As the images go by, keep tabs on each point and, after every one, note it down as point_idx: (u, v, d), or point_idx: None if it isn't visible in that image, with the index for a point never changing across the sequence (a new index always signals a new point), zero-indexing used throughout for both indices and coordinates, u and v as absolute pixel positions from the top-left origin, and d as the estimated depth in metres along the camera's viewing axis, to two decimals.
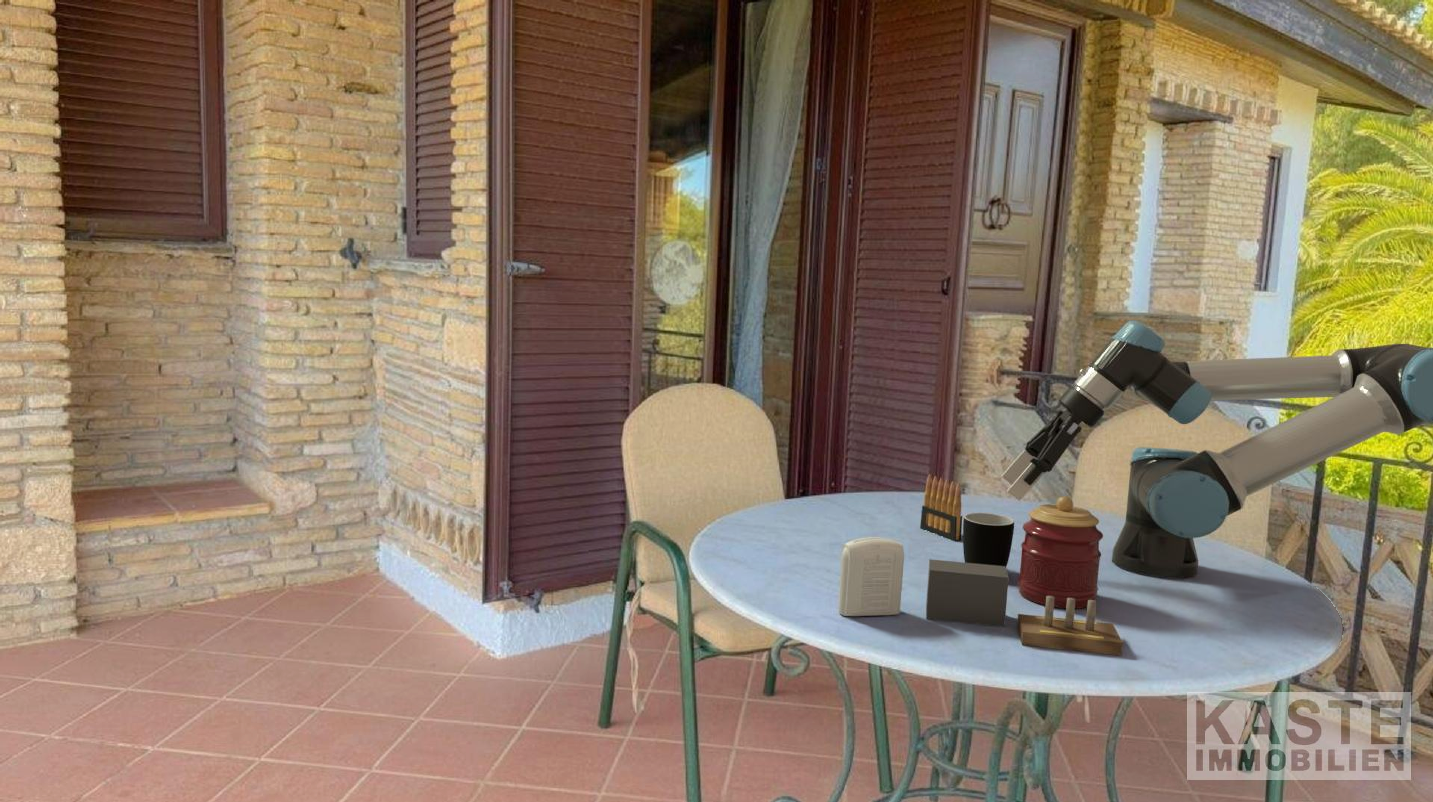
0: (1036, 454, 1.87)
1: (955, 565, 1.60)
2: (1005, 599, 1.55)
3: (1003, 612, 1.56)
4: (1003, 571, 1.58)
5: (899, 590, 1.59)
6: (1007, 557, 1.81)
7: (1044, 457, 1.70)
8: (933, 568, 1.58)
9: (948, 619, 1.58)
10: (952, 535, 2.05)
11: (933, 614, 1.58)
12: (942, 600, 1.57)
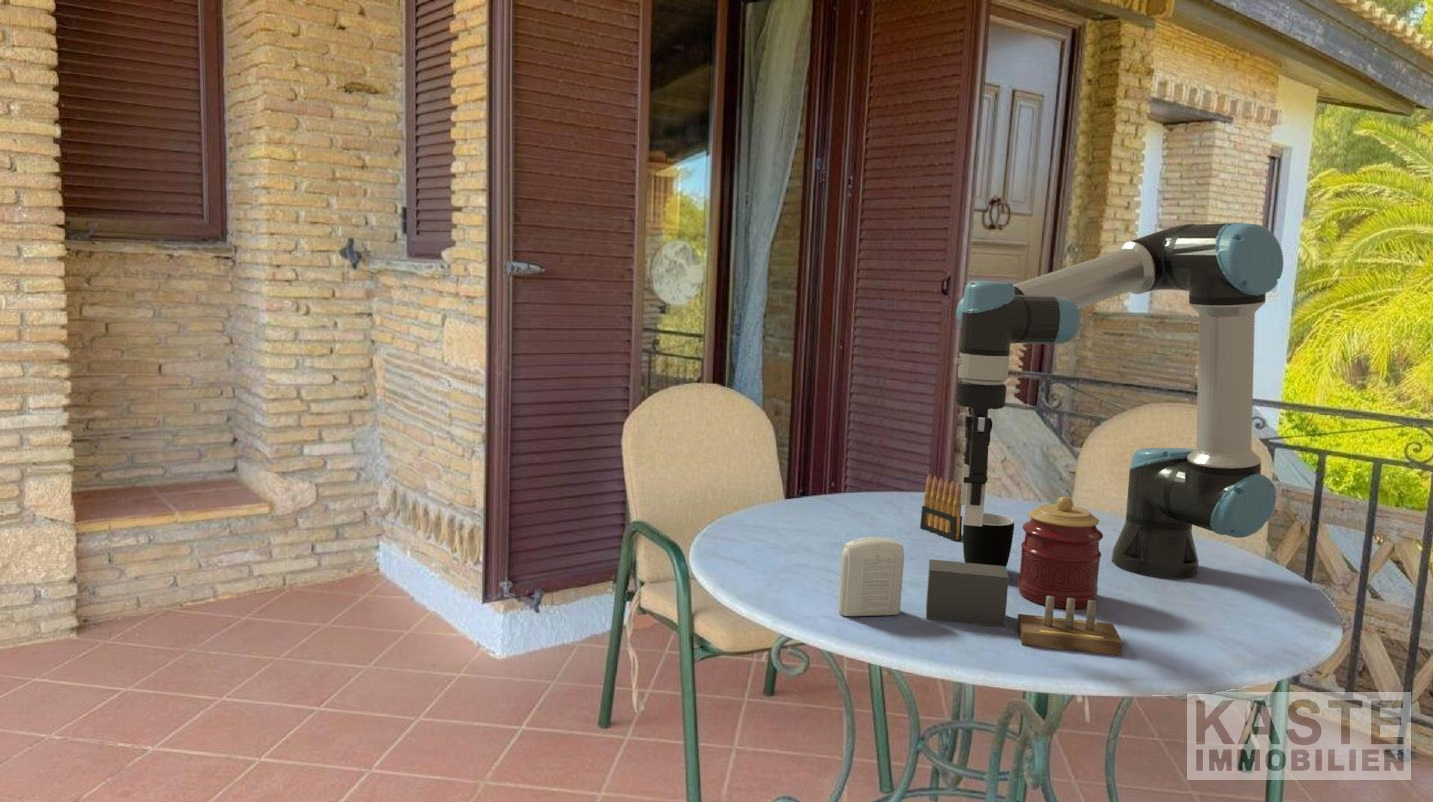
0: None
1: (955, 565, 1.60)
2: (1005, 599, 1.55)
3: (1003, 612, 1.56)
4: (1003, 571, 1.58)
5: (899, 590, 1.59)
6: (1007, 557, 1.81)
7: (972, 471, 1.47)
8: (933, 568, 1.58)
9: (948, 619, 1.58)
10: (952, 535, 2.05)
11: (933, 614, 1.58)
12: (942, 600, 1.57)
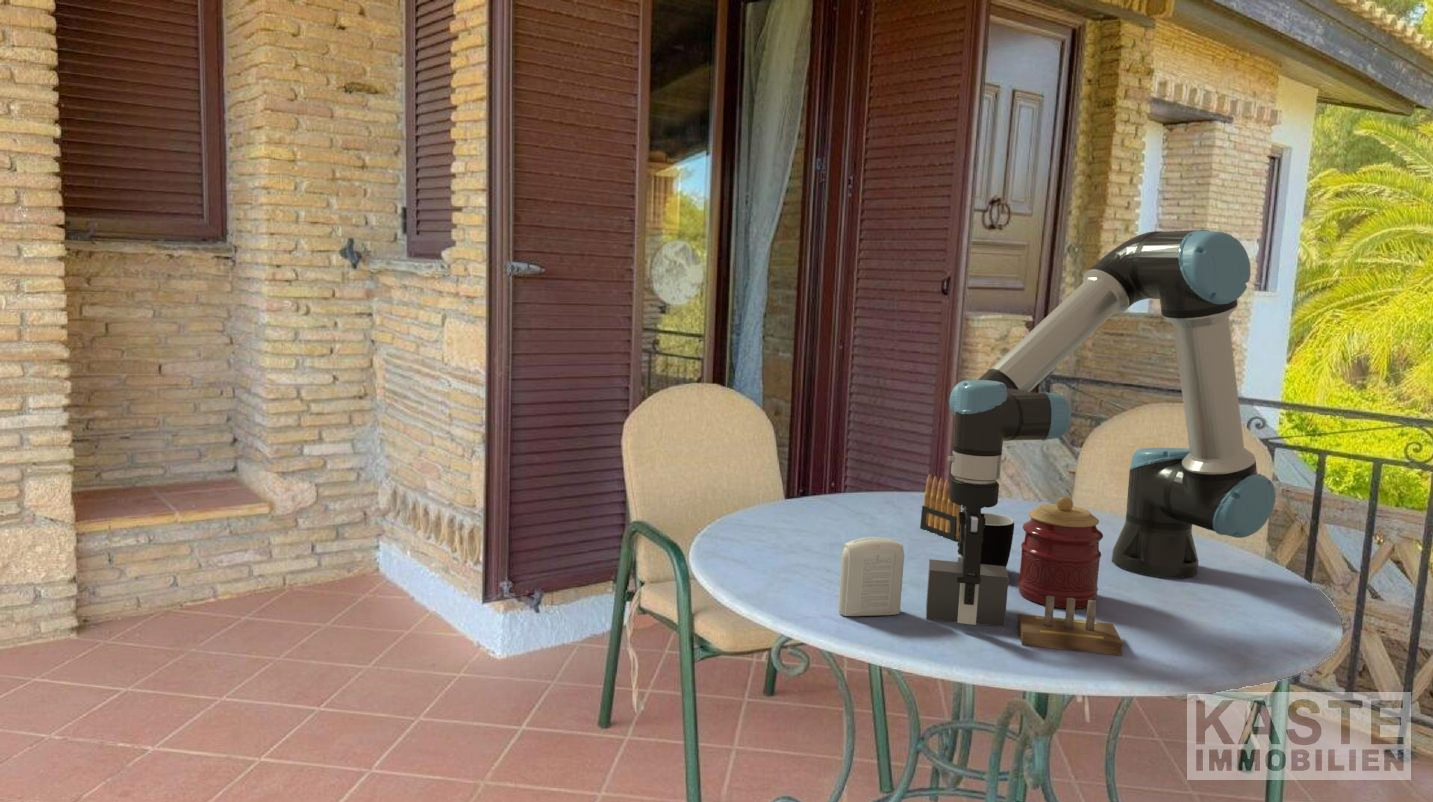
0: None
1: (955, 565, 1.60)
2: (1005, 599, 1.55)
3: (1003, 612, 1.56)
4: (1003, 571, 1.58)
5: (899, 590, 1.59)
6: (1007, 557, 1.81)
7: (965, 572, 1.49)
8: (933, 568, 1.58)
9: (948, 619, 1.58)
10: (952, 535, 2.05)
11: (933, 614, 1.58)
12: (942, 600, 1.57)
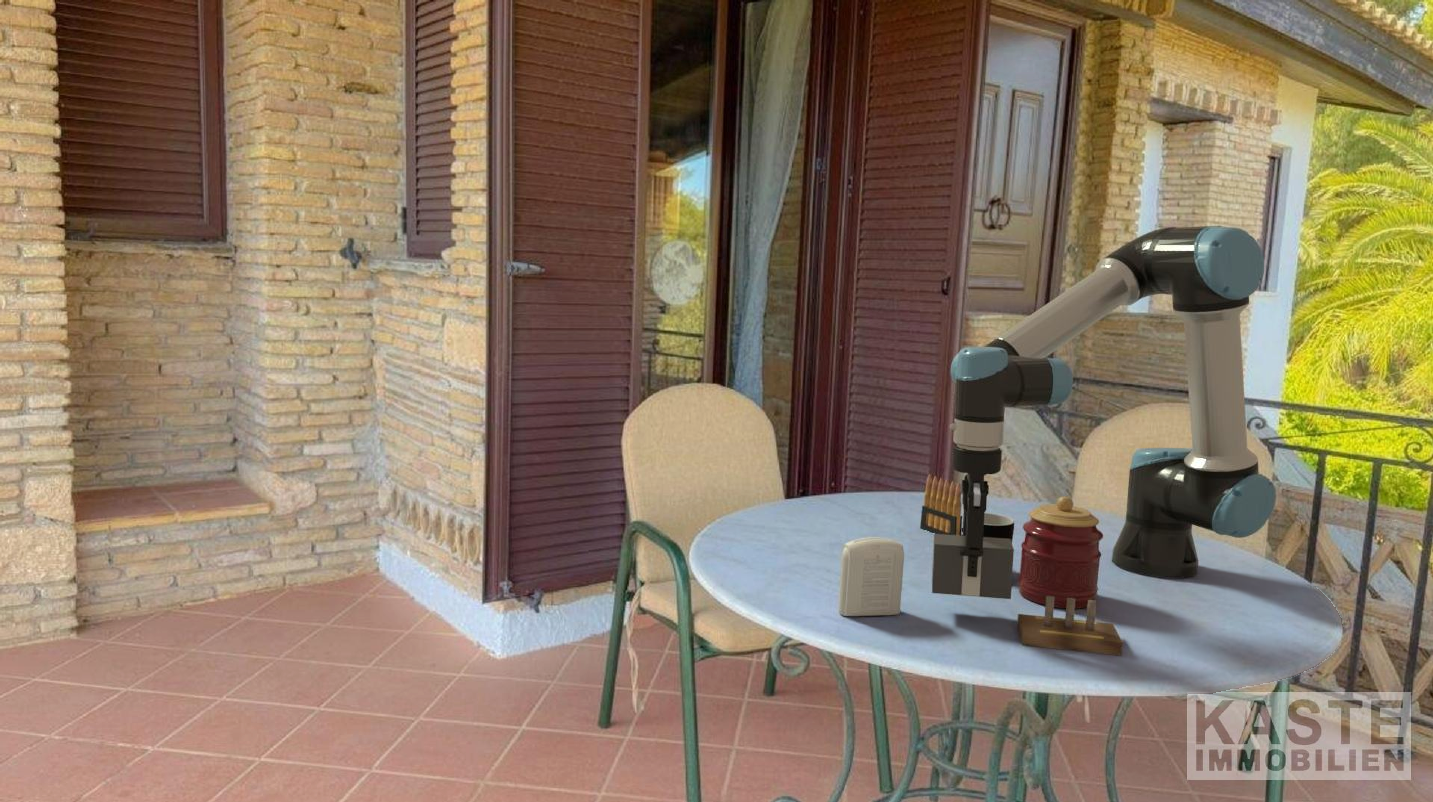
0: None
1: (960, 539, 1.59)
2: (1011, 571, 1.55)
3: (1009, 584, 1.55)
4: (1008, 543, 1.57)
5: (899, 590, 1.59)
6: None
7: (968, 547, 1.52)
8: (938, 542, 1.58)
9: (954, 592, 1.57)
10: None
11: (939, 588, 1.57)
12: (948, 574, 1.57)
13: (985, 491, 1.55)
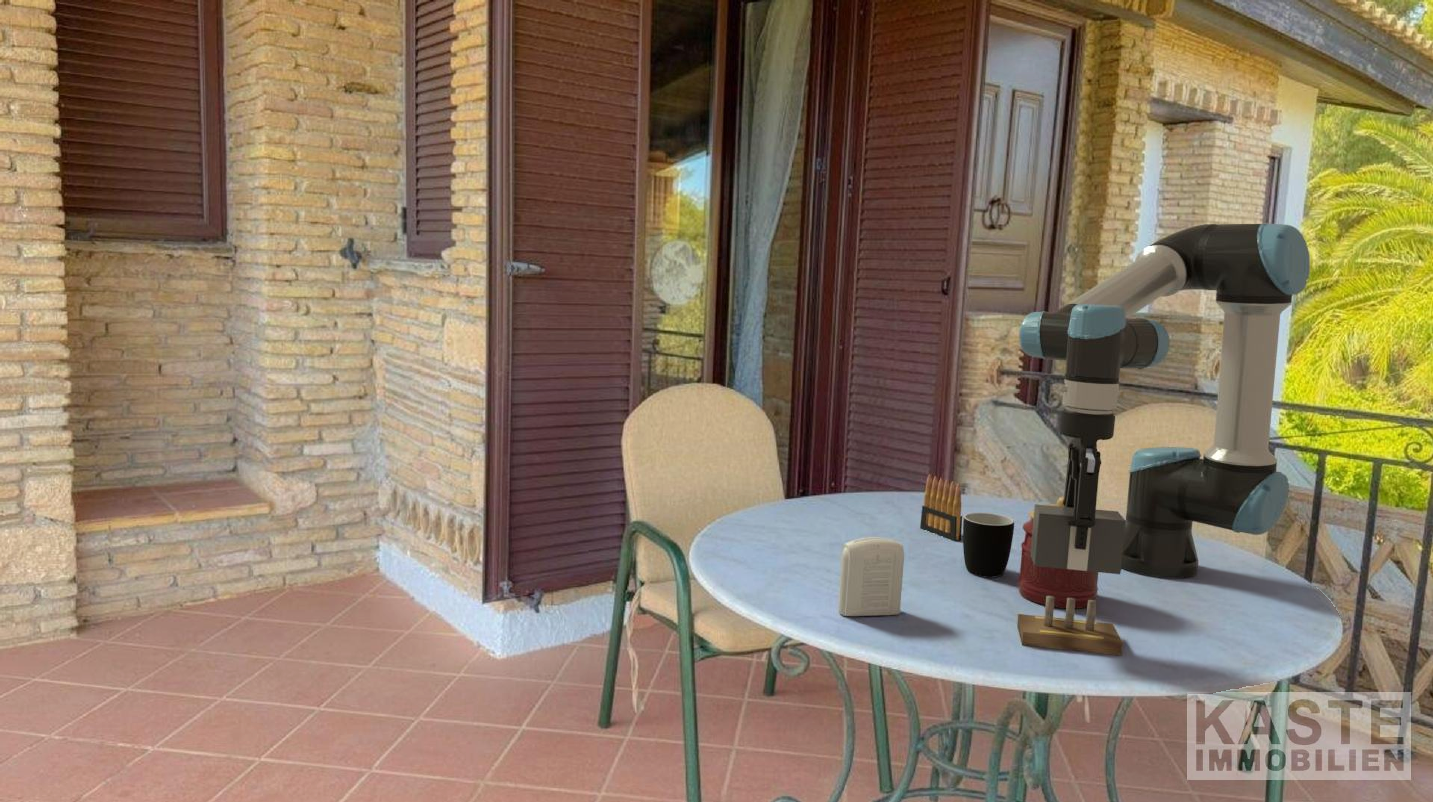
0: None
1: (1064, 510, 1.49)
2: (1121, 544, 1.45)
3: (1119, 558, 1.45)
4: (1118, 515, 1.47)
5: (899, 590, 1.59)
6: (1007, 557, 1.81)
7: (1079, 516, 1.42)
8: (1042, 511, 1.48)
9: (1058, 566, 1.47)
10: (952, 535, 2.05)
11: (1042, 561, 1.47)
12: (1052, 546, 1.47)
13: (1096, 458, 1.45)
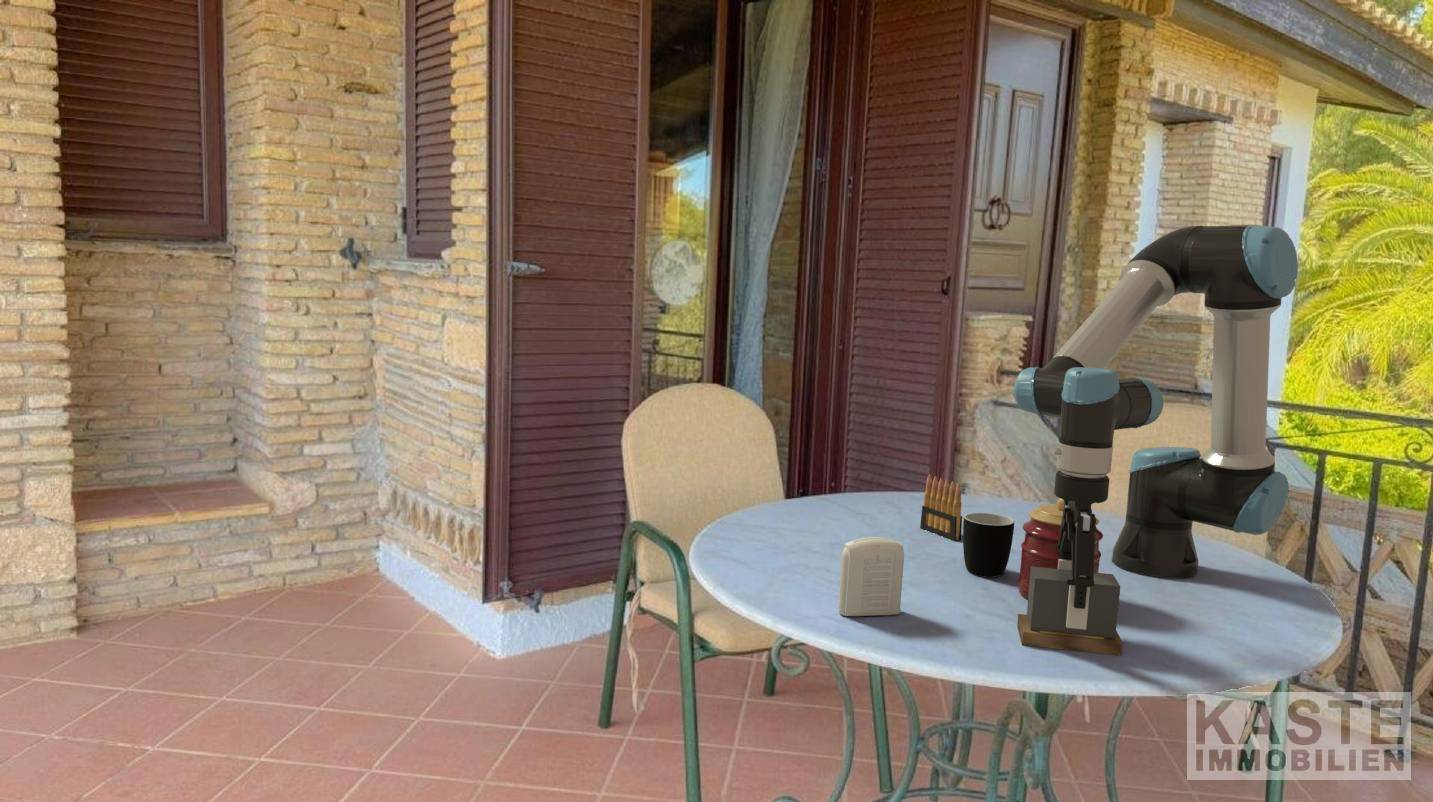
0: None
1: (1060, 573, 1.51)
2: (1116, 609, 1.46)
3: (1114, 623, 1.47)
4: (1113, 580, 1.49)
5: (899, 590, 1.59)
6: (1007, 557, 1.81)
7: (1077, 575, 1.41)
8: (1038, 576, 1.49)
9: (1054, 630, 1.48)
10: (952, 535, 2.05)
11: (1038, 625, 1.49)
12: (1048, 610, 1.48)
13: None
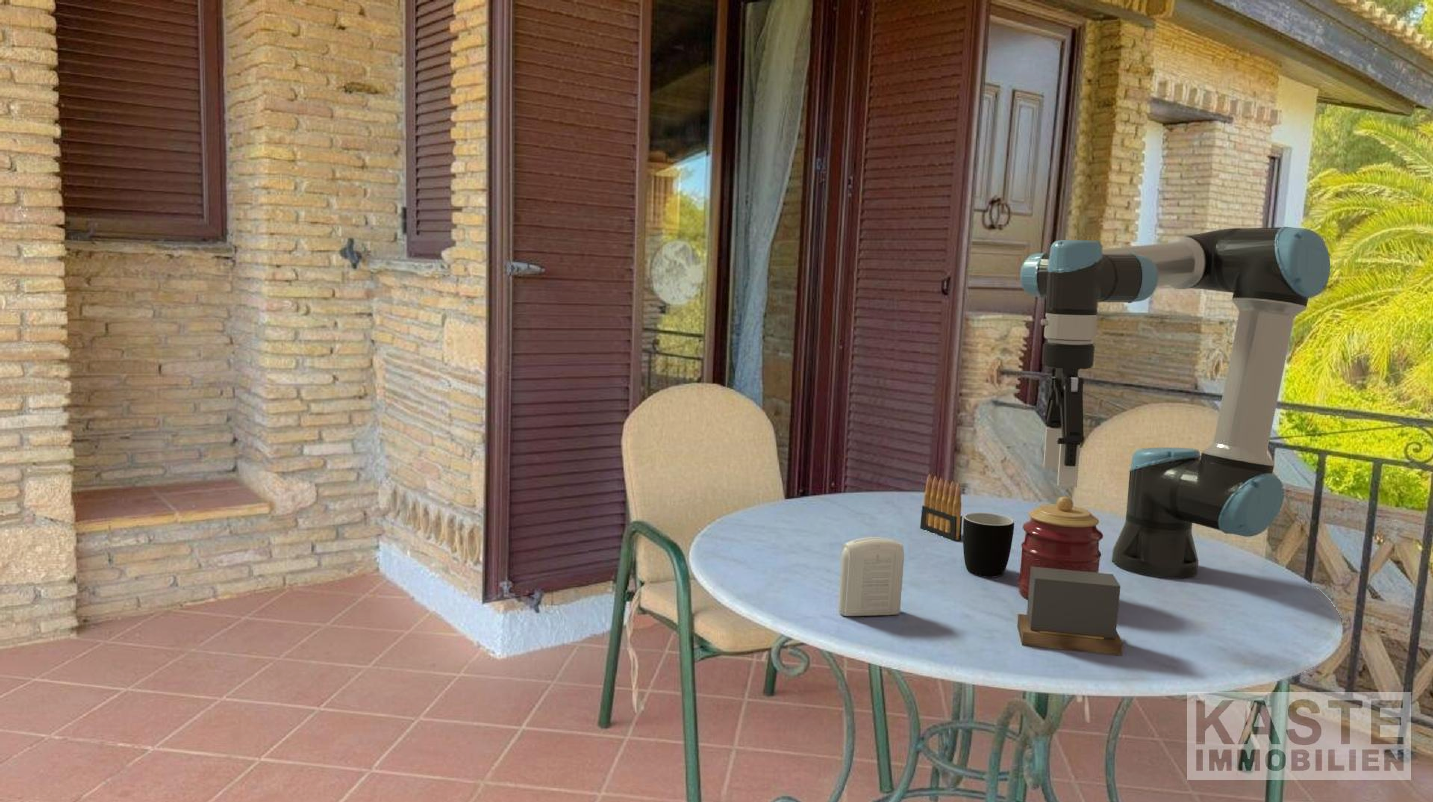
0: (1060, 423, 1.62)
1: (1060, 573, 1.51)
2: (1116, 609, 1.46)
3: (1114, 623, 1.47)
4: (1113, 580, 1.49)
5: (899, 590, 1.59)
6: (1007, 557, 1.81)
7: (1068, 431, 1.46)
8: (1038, 576, 1.49)
9: (1054, 630, 1.48)
10: (952, 535, 2.05)
11: (1038, 625, 1.49)
12: (1048, 610, 1.48)
13: None
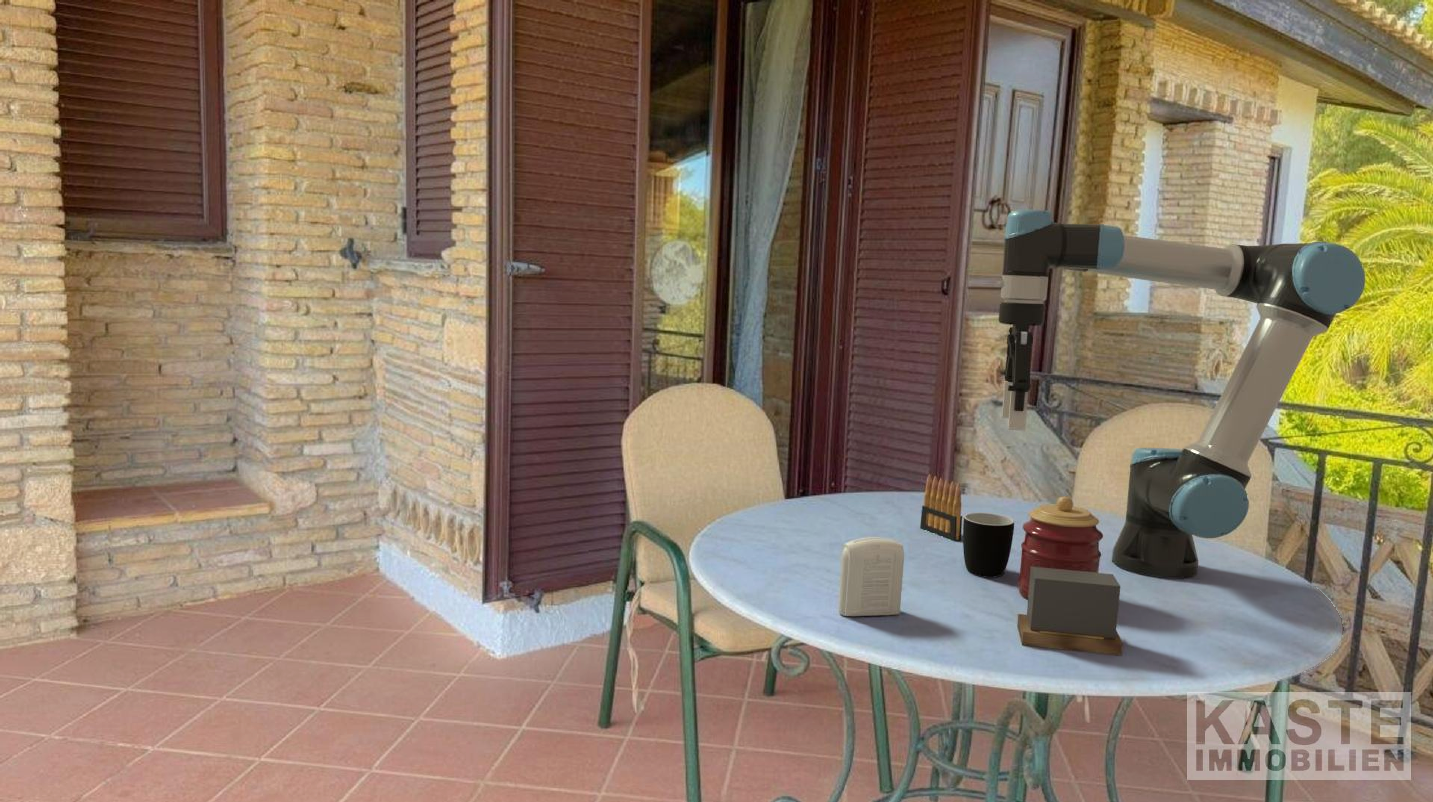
0: None
1: (1060, 573, 1.51)
2: (1116, 609, 1.46)
3: (1114, 623, 1.47)
4: (1113, 580, 1.49)
5: (899, 590, 1.59)
6: (1007, 557, 1.81)
7: (1016, 379, 1.64)
8: (1038, 576, 1.49)
9: (1054, 630, 1.48)
10: (952, 535, 2.05)
11: (1038, 625, 1.49)
12: (1048, 610, 1.48)
13: None
